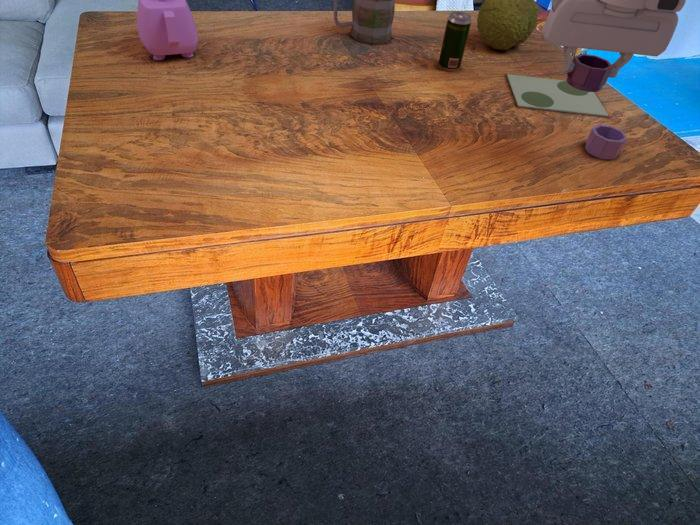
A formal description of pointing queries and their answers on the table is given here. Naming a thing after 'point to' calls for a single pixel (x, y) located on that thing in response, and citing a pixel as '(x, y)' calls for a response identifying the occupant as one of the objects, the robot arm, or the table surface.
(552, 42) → the robot arm
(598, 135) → the lavender dish
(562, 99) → the mat
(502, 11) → the fruit
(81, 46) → the table surface
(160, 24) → the pink rounded piece
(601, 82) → the plum dish
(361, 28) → the mug
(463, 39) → the beer can
